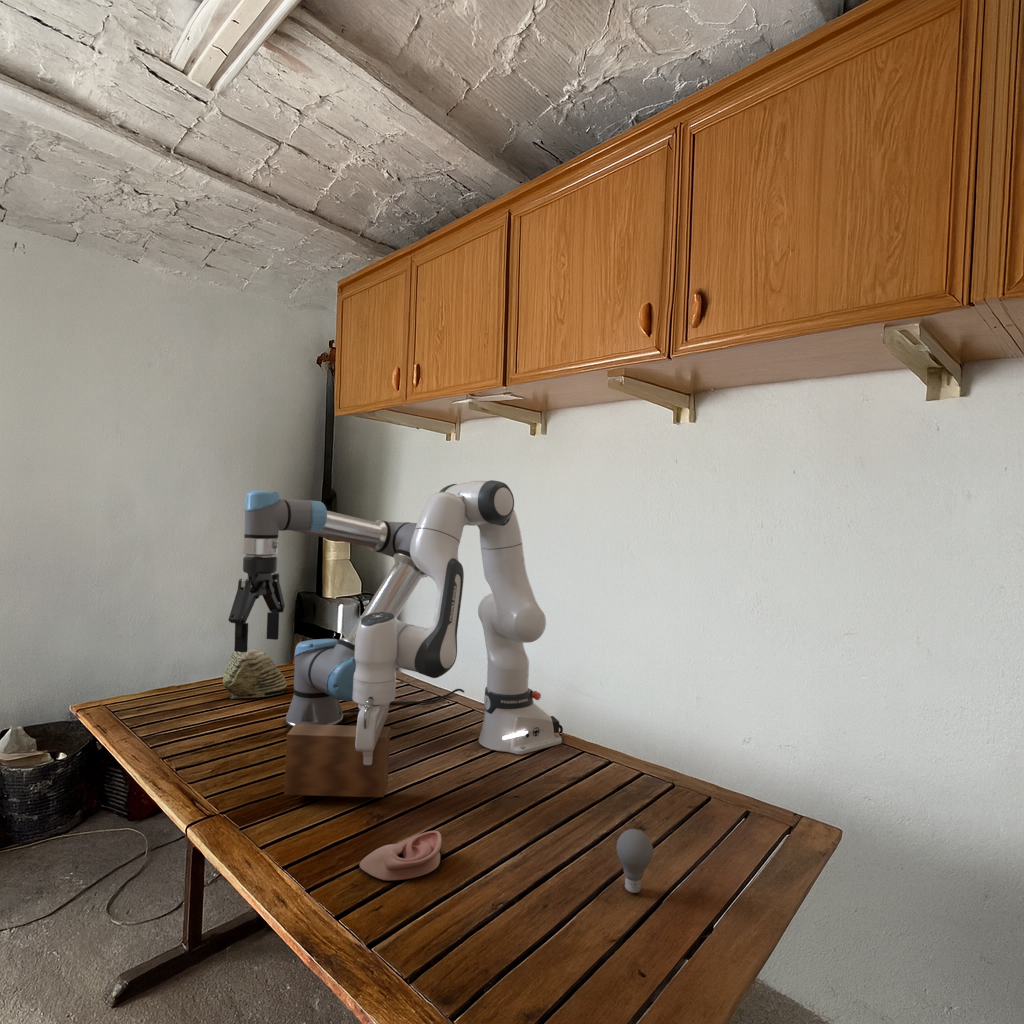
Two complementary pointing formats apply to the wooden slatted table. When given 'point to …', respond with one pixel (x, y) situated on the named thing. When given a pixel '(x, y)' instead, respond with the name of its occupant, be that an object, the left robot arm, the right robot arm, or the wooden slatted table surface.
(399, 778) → the wooden slatted table surface
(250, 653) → the fossil
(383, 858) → the anatomical model
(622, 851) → the light bulb
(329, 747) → the box
